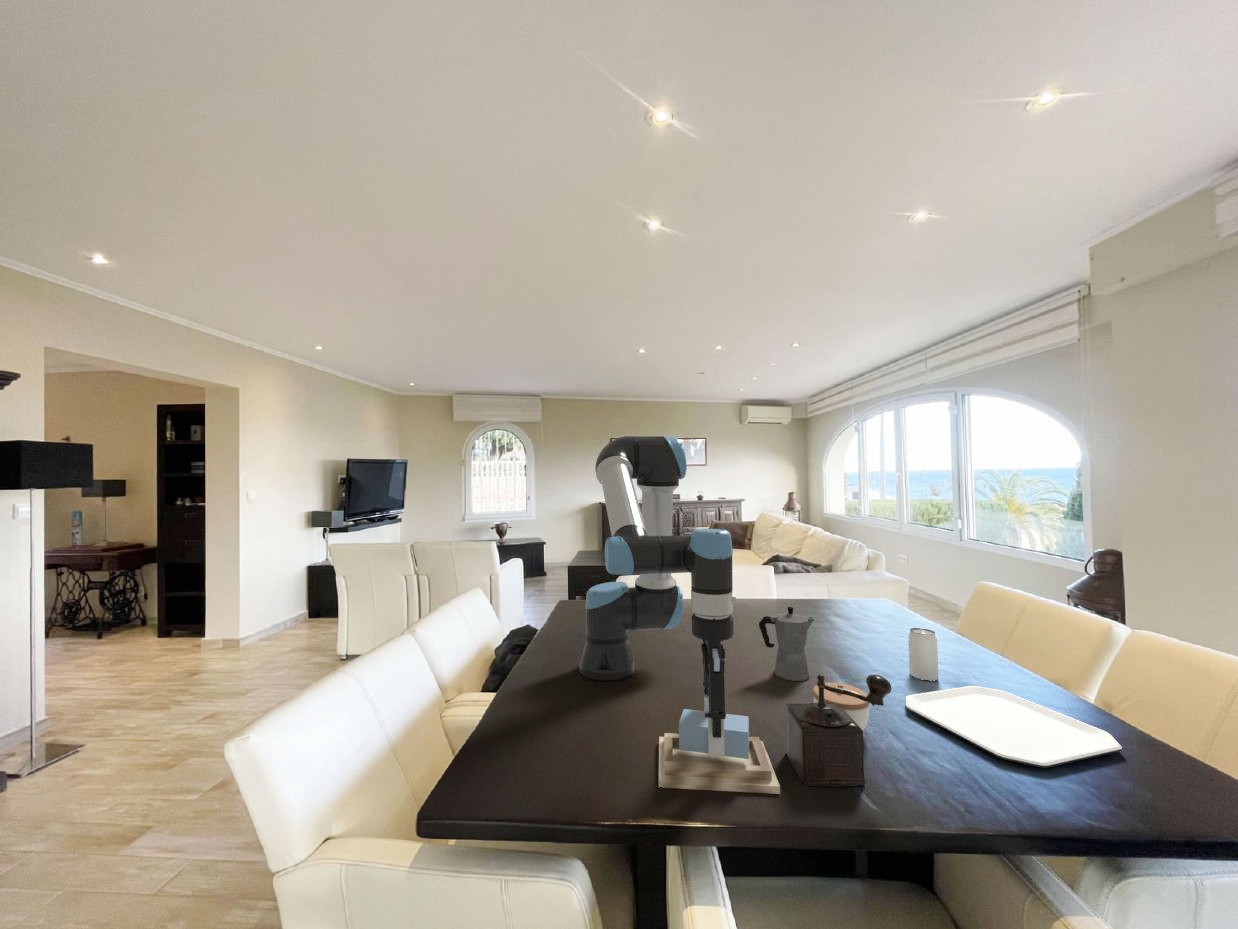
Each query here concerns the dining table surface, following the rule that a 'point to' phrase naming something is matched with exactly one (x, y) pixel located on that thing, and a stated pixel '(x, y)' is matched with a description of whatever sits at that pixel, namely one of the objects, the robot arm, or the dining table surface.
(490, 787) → the dining table surface
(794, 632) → the coffeepot
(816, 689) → the lidded jar
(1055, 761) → the plate
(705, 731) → the blue block
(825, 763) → the coffee grinder
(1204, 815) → the dining table surface
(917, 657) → the can
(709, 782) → the slot holder
